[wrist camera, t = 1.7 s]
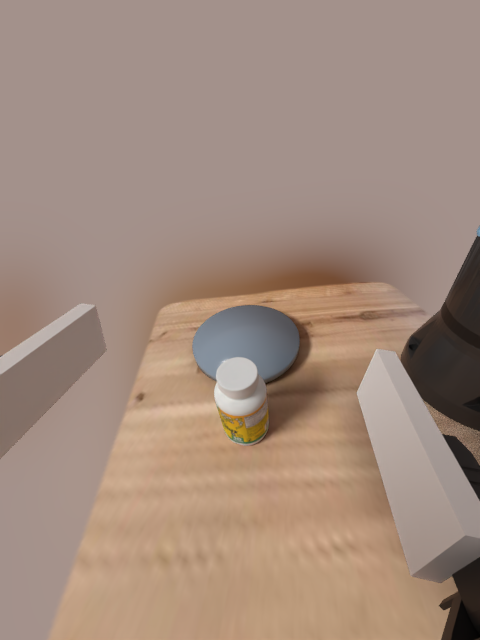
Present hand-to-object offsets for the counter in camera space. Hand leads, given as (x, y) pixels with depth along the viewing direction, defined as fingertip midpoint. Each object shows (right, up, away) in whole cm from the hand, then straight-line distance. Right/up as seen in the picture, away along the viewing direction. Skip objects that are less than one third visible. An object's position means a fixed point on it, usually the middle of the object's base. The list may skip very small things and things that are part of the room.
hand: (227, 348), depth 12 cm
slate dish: (+2, -3, +28) cm, 28 cm away
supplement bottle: (+1, -11, +18) cm, 21 cm away
